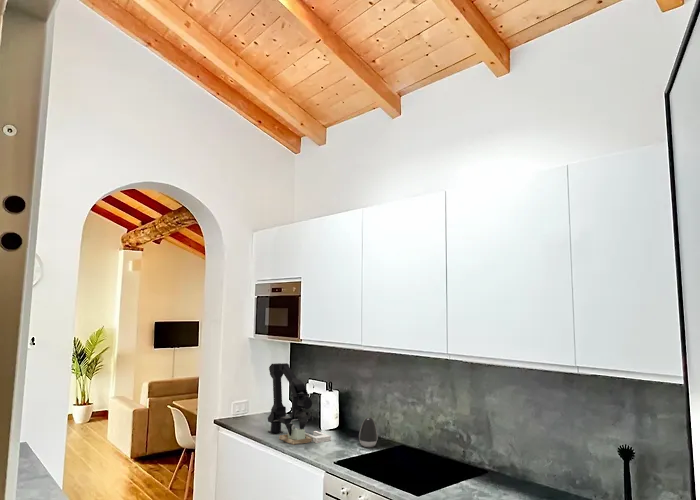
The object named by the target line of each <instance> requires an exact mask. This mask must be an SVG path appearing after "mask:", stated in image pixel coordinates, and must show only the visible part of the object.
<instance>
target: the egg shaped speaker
mask: <svg viewBox="0 0 700 500" xmlns="http://www.w3.org/2000/svg"><path fill="white" fill-rule="evenodd" d="M378 437H379V436H378V431H377V425H376V423H375V421H374V418H373V417H372V416H369V417H365V418H364V420H363V421H362V423H361V426H360V430H359V433H358V440H359V443H360V445H361V446H362V447H364V448H373V447H375V446H376V444H377V441H378V439H379V438H378Z"/></svg>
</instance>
